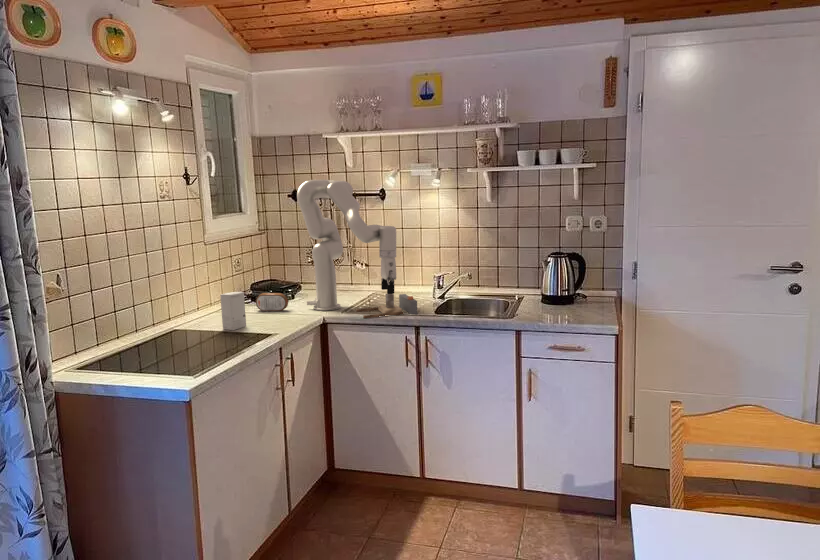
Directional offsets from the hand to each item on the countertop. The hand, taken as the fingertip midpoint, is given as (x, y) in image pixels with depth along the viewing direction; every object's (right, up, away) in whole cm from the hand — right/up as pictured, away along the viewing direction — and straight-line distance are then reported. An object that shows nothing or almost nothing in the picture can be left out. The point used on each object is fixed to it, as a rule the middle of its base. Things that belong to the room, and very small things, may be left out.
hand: (387, 291), depth 285 cm
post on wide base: (+1, -9, +1) cm, 9 cm away
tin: (-54, -9, +11) cm, 56 cm away
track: (-4, -10, 0) cm, 10 cm away
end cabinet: (+9, -9, +4) cm, 13 cm away
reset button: (+10, -5, -1) cm, 12 cm away
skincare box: (-63, -15, -20) cm, 68 cm away
